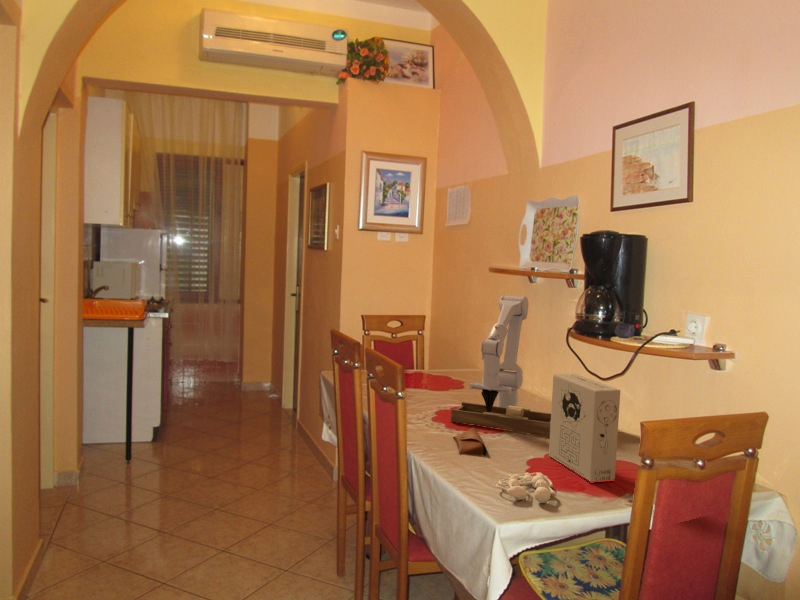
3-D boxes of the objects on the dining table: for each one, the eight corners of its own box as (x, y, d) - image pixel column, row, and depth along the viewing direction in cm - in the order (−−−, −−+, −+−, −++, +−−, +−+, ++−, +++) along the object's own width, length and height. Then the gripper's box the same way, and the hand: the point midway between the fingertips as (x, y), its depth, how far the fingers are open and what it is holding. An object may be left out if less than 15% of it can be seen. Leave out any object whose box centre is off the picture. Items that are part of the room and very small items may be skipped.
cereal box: (615, 482, 164) (621, 390, 162) (590, 484, 162) (596, 390, 160) (570, 455, 185) (575, 373, 183) (548, 457, 183) (552, 374, 181)
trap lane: (462, 413, 228) (462, 400, 228) (555, 426, 215) (556, 412, 215) (450, 422, 216) (451, 408, 216) (548, 436, 203) (549, 421, 203)
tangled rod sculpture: (503, 478, 168) (502, 463, 168) (557, 480, 164) (557, 465, 164) (493, 502, 150) (492, 486, 150) (554, 506, 145) (553, 489, 145)
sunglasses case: (450, 436, 200) (462, 419, 199) (468, 447, 200) (479, 430, 200) (458, 454, 182) (471, 436, 181) (478, 466, 182) (490, 448, 182)
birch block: (508, 416, 217) (509, 405, 217) (523, 418, 215) (523, 407, 215) (505, 420, 212) (506, 408, 212) (520, 422, 210) (520, 410, 210)
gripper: (467, 372, 215) (466, 411, 216) (508, 377, 210) (507, 416, 211) (473, 369, 222) (471, 406, 223) (513, 373, 216) (511, 411, 217)
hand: (489, 411), depth 217 cm, fingers closed
